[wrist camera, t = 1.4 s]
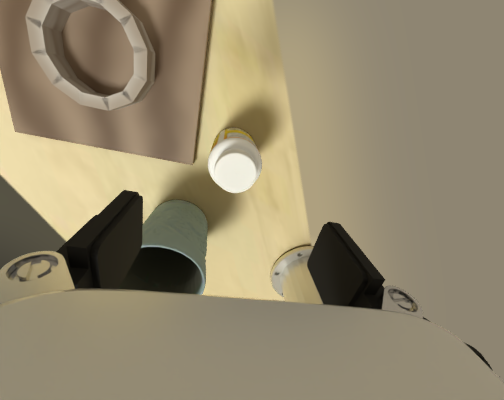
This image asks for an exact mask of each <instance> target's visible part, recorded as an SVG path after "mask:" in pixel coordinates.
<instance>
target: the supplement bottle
mask: <svg viewBox="0 0 504 400" xmlns="http://www.w3.org/2000/svg"><path fill="white" fill-rule="evenodd" d="M261 169H262V160H261V156H260V153H259V151H258V149H257V147H256V145H255V143H254V141H253V139H252V137H251V136H250V135H249V134H248V133H247V132H246V131H244V130H242V129H240V128H227V129H225V130H223V131H221V132H220V133H219V134H218V135H217V136H216V138H215V140H214V143H213V146H212V149H211V152H210V155H209V159H208V170H209V173H210V175H211V177H212V179H213V180H214V181H215V182H216V183H217V184H218V185H219V186H220V187H221V188H222V189H224V190H226V191H228V192H231V193H240V192H244V191H246V190H247V189H249V188H250V187H251V186H252V185H253V184H254V183H255V181H256V180H257V179H258V177H259V175H260V173H261Z"/></svg>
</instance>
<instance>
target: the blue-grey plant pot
mask: <svg viewBox="0 0 504 400" xmlns="http://www.w3.org/2000/svg"><path fill="white" fill-rule="evenodd" d="M207 230H208V223H207V219H206V217H205V215H204V213H203V212H202V211H201V210H200V209H199V208H198V207H197V206H196V205H194V204H192V203H190V202H187V201H183V200H171V201H167V202H164V203H163V204H161V205H159V206H158V207H157V208H156V209H155V210H154V211H153V212H152V213H151V215H150V216H149V217H148V219H147V220H146V221H145V222H144V224H143V226H142V246H141V249H140V251H139V253H138V254H137V256H136V258H135V260H134V262H133V263H132V265H131V267H130V269H129V271H128V272H127V274H126V276H125V278H124V280H123V281H122V283H121V285H120V287H119V289H126V290H143V291H157V292H171V293H185V294H199V295H202V294H203V291H204V288H205V283H206V265H205V262H206V260H205V256H206V251H207V248H206V247H207Z"/></svg>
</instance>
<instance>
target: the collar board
mask: <svg viewBox="0 0 504 400" xmlns="http://www.w3.org/2000/svg"><path fill="white" fill-rule="evenodd" d="M211 9H212V0H0V70H1V74H2V78H3V82H4V87H5V91H6V95H7V99H8V104H9V108H10V112H11V117H12V121H13V125H14V129H15V132H19V133H24V134H30V135H35V136H40V137H46V138H51V139H56V140H62V141H67V142H72V143H78V144H83V145H88V146H94V147H99V148H104V149H110V150H115V151H120V152H126V153H131V154H136V155H142V156H147V157H152V158H158V159H163V160H168V161H174V162H179V163H184V164H190V165H193V163H194V157H195V148H196V139H197V131H198V122H199V113H200V105H201V96H202V87H203V79H204V70H205V61H206V52H207V44H208V35H209V26H210V18H211Z"/></svg>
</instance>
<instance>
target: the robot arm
mask: <svg viewBox="0 0 504 400" xmlns="http://www.w3.org/2000/svg"><path fill="white" fill-rule="evenodd" d="M142 226H143V198H142V196H139V194H138V192H133V191H126V190H124V191H122V192H121V193H120V194H119V195H118V196H117V197H116V198H115V199H114V200H113V201H112V202H111V203H110V204H109V205H108V206H107V207H106V208H105V209H104V210H103V211H102V212H101V213H100V214H99V215H95V216H94V217H93V218H92V219H91V220H89V221H88V222H87V223H86V224H85V225H84V226H83V227H82V228H81V229H80V230H79V231H78V232H77V233H76V234H75V235H74V236H73V237H71V238H70V239H69V240H68V241H67V242H66V243H65V244H64V245H63V246H62V247H61V248H60V249H59V250H58V251H57V252H52V251H40V252H34V253H29V254H27V255H23V256H20V257H18V258H16V259H14V260H12V261H11V262H9V263H8V264H6V265H5V266H4V267H3V268H2V269H1V270H0V400H504V379H502V378H501V377H500V376H499V377H498V376H497V375H496V374H495V373H494V372H493V370H492V368H491V367H490V365H489V364H488V362H487V361H486V360H485V359H484V357H483V356H482V355H481V354H480V353H479V352H478V351H477V350H476V349H475V348H473V347H472V346H470V345H468V344H466V343H464V342H463V341H462V340H460V339H459V338H458V337H457V336H455V335H454V334H453V333H451V332H450V331H448V330H446V329H444V328H443V327H440V326H439V325H437V324H434V323H432V322H430V321H429V320H427V319H426V318H424V317H423V312H422V308H421V306H420V304H419V303H418V302H417V301H416V300H415V298H414V297H412V296H411V295H410V294H409V293H407V292H406V291H404V290H402V289H400V288H398V287H395V286H387V287H385V288H384V287H383V286H382V284H383V282H384V281H385V279H384V278H383V276H382V275H381V274H380V273H379V272H378V270H377V269H376V268H375V267H374V265H373V264H372V263H371V262H370V261H369V259H368V258H367V257H366V255H364V253H363V252H362V251H361V249H360V248H359V247H358V246H357V244H356V243H355V242H354V241H353V239H352V238H351V237H350V236H349V235H348V233H347V232H346V231H345V230H344V228H343V227H342V226H341V225H340V224H338V223H332V222H328V223H327V224H324V226H323V227H322V230H321V232H320V234H319V236H318V239H317V241H316V243H315V246H304V247H299V248H296V249H293V250H291V251H289V252H287V253H285V254H284V255H283V256H281V257H280V258H279V259H278V260H277V261H276V263H275V264H274V266H273V268H272V271H271V282H272V286H273V288H274V290H275V291H276V292H277V293H278V294H279V295H281V296H282V297H284V299H285V301H278V300H265V299H252V298H240V297H227V296H213V295H199V294H185V293H171V292H157V291H143V290H126V289H119V287H120V285H121V283H122V281H123V280H124V278H125V276H126V274H127V272H128V271H129V269H130V267H131V265H132V263H133V262H134V260H135V258H136V256H137V254H138V253H139V251H140V249H141V246H142Z"/></svg>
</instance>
